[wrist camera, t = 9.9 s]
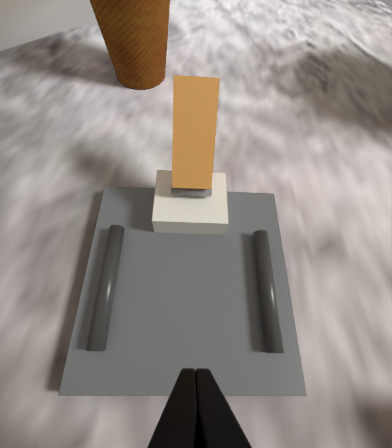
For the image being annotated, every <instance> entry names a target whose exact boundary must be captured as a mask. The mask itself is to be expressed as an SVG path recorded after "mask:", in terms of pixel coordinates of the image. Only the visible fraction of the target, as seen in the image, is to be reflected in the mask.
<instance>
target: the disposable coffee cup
mask: <svg viewBox="0 0 392 448" xmlns="http://www.w3.org/2000/svg"><path fill="white" fill-rule="evenodd" d="M90 3H91V5H92V8H93V11H94V13H95V16H96V19H97V22H98V25H99V27H100V30H101V33H102V36H103V38H104V41H105V44H106V47H107V49H108V52H109V55H110V58H111V60H112V63H113V66H114V69H115V71H116V74H117V77H118V80H119V81H120V82H121V83H122V84H123V85H125V86H127V87H130V88H133V89H149V88H153V87H155V86H157V85H159V84H160V83H161V82H162V81H163V80H164V78H165V68H166V52H167V39H168V21H169V5H170V0H90Z"/></svg>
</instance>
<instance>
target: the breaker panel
mask: <svg viewBox="0 0 392 448" xmlns="http://www.w3.org/2000/svg"><path fill="white" fill-rule="evenodd" d="M171 185H172V171H166V170H157V177H156V187H155V189H151V188H127V187H104V192H103V196H102V201H101V205H100V210H99V214H98V219H97V223H96V228H95V232H94V237H93V241H92V246H91V250H90V255H89V259H88V264H87V268H86V273H85V277H84V282H83V286H82V291H81V295H80V300H79V304H78V309H77V313H76V318H75V322H74V327H73V331H72V336H71V340H70V345H69V349H68V354H67V358H66V363H65V367H64V372H63V376H62V381H61V385H60V390H59V394H58V395H66V396H170V394H171V392H172V390H173V387H174V385H175V383H176V380H177V378H178V376H179V373H180V371H181V370H182V369H183V368H194V369H195V371H196V369H197V368H208V369H209V370H210V371H211V373H212V375H213V377H214V378H215V380H216V382H217V384H218V386H219V388H220V390H221V391H222V393H223V395H224V396H307V395H306V389H305V383H304V377H303V371H302V365H301V358H300V352H299V346H298V340H297V334H296V328H295V321H294V315H293V309H292V303H291V297H290V291H289V285H288V278H287V272H286V266H285V260H284V254H283V248H282V241H281V235H280V229H279V223H278V217H277V211H276V204H275V198H274V194H268V193H245V192H227V190H226V173H213V174H212V195H211V197H209V196H185V195H171Z"/></svg>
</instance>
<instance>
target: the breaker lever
mask: <svg viewBox="0 0 392 448" xmlns="http://www.w3.org/2000/svg"><path fill="white" fill-rule="evenodd" d="M219 81H220V78H210V77H195V76H179V75H174V93H173V161H172V185H171V195H185V196H209V197H211V195H212V174H213V161H214V148H215V134H216V121H217V108H218V95H219Z"/></svg>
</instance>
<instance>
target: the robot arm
mask: <svg viewBox="0 0 392 448" xmlns="http://www.w3.org/2000/svg"><path fill="white" fill-rule="evenodd" d="M147 448H252V447H251V445H250V443H249V441H248V439H247V438H246V436H245V434H244V432H243V430H242V428H241V427H240V425H239V423H238V421H237V419H236V417H235V415H234V414H233V412H232V410H231V408H230V406H229V404H228V402H227V401H226V399H225V397H224V395H223V393H222V391H221V390H220V388H219V386H218V384H217V382H216V380H215V378H214V377H213V375H212V373H211V371H210V370H209V369H208V368H197V369H196V371H195V369H194V368H183V369H182V370H181V371H180V373H179V376H178V378H177V380H176V383H175V385H174V387H173V390H172V392H171V394H170V397H169V399H168V401H167V403H166V406H165V408H164V410H163V413H162V415H161V417H160V420H159V422H158V424H157V426H156V429H155V431H154V433H153V436H152V438H151V440H150V443H149V445H148V447H147Z"/></svg>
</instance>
